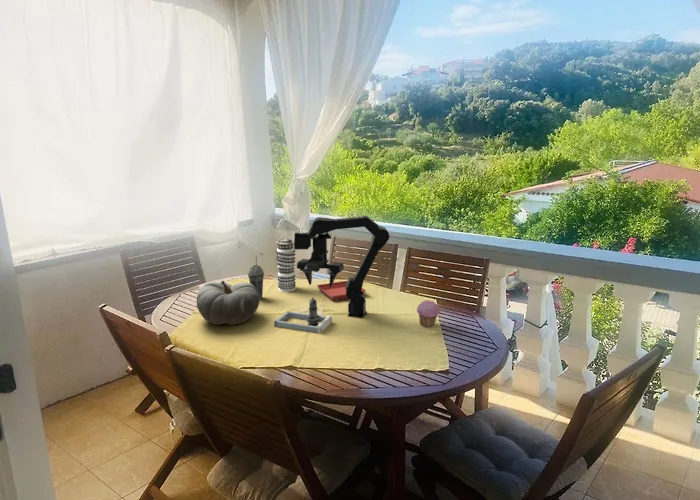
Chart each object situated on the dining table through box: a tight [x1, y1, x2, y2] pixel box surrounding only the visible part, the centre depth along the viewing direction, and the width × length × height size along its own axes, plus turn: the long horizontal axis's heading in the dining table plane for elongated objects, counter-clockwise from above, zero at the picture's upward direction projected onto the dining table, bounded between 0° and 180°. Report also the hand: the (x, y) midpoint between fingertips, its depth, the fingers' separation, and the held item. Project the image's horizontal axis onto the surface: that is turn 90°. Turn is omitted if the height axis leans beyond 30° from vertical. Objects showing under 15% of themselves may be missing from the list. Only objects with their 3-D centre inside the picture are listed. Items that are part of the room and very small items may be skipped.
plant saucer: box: [316, 280, 367, 302], centre depth 232 cm, size 18×18×3 cm
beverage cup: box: [247, 255, 265, 300], centre depth 224 cm, size 7×7×20 cm
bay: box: [273, 311, 333, 334], centre depth 197 cm, size 20×11×3 cm, turn 70°
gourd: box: [196, 280, 261, 326], centre depth 201 cm, size 25×25×17 cm
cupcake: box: [416, 299, 441, 328], centre depth 194 cm, size 9×9×10 cm
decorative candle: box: [275, 237, 297, 293], centre depth 235 cm, size 9×9×25 cm
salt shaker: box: [306, 297, 321, 326], centre depth 194 cm, size 6×6×12 cm
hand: (320, 285), depth 203 cm, fingers open, 9 cm apart
